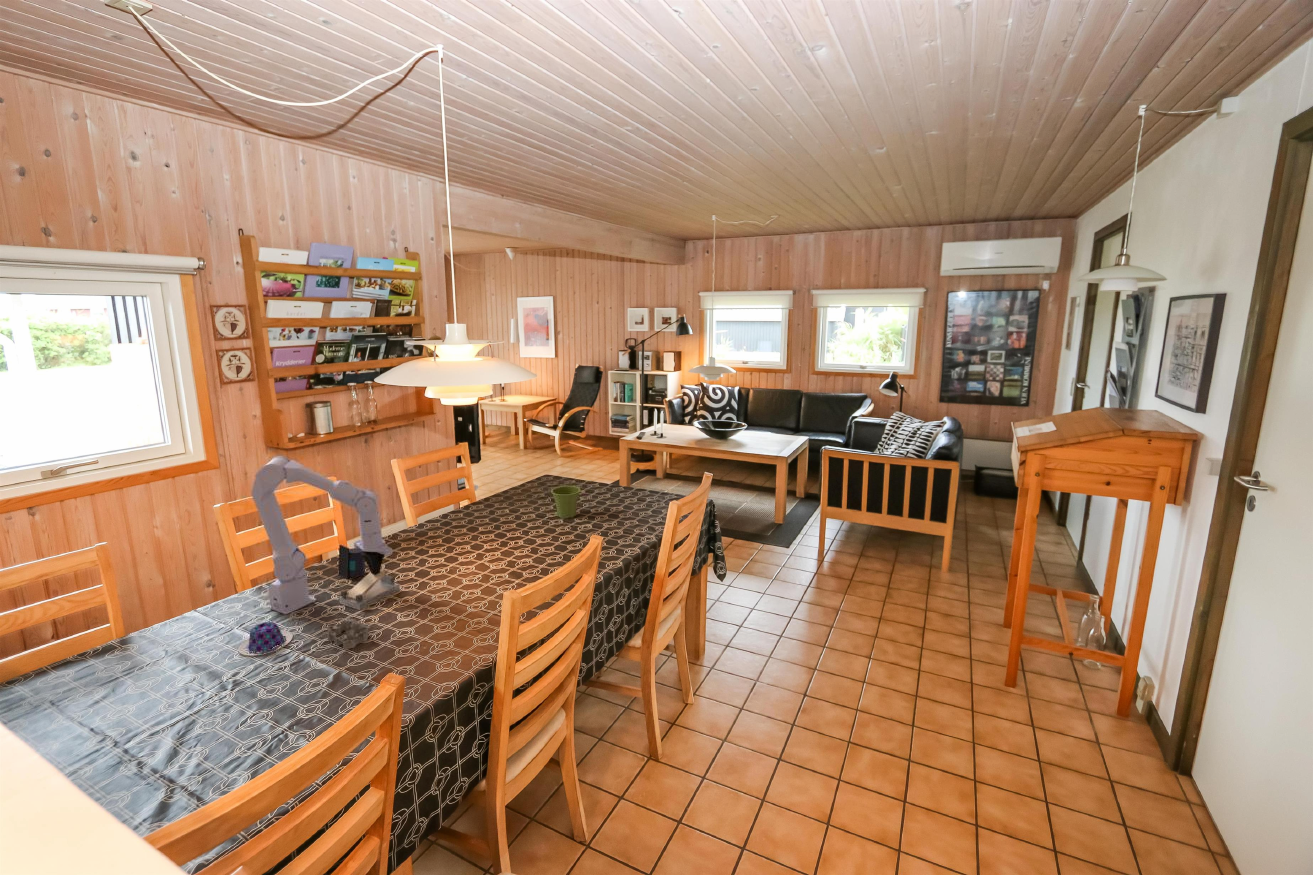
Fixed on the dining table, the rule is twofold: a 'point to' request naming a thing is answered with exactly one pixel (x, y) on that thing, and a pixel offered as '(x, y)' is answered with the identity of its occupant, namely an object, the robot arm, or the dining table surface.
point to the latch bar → (365, 584)
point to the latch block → (371, 594)
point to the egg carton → (348, 633)
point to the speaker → (351, 562)
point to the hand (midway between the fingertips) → (376, 573)
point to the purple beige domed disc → (265, 638)
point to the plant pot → (566, 500)
